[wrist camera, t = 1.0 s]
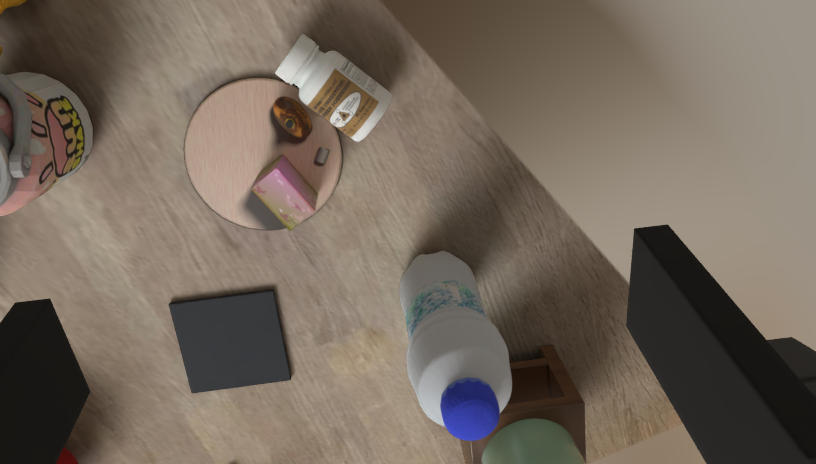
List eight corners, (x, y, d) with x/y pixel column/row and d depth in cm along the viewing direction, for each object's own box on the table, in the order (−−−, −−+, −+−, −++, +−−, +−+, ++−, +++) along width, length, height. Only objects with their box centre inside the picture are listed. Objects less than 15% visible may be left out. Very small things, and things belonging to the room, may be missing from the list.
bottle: (463, 321, 58) (513, 479, 40) (387, 307, 57) (402, 463, 39) (483, 250, 56) (547, 382, 38) (405, 235, 55) (431, 362, 37)
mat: (169, 302, 56) (168, 304, 56) (273, 288, 56) (273, 290, 56) (192, 390, 59) (191, 393, 58) (291, 377, 59) (290, 380, 59)
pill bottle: (353, 153, 49) (263, 87, 47) (364, 126, 53) (281, 64, 51) (388, 111, 47) (296, 40, 45) (397, 86, 50) (312, 19, 48)
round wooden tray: (373, 167, 53) (374, 183, 49) (258, 258, 55) (250, 281, 51) (269, 44, 49) (261, 49, 45) (150, 145, 51) (131, 160, 47)
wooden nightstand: (452, 357, 60) (467, 418, 51) (552, 344, 60) (584, 402, 51) (460, 441, 63) (476, 512, 54) (556, 428, 63) (587, 497, 55)
